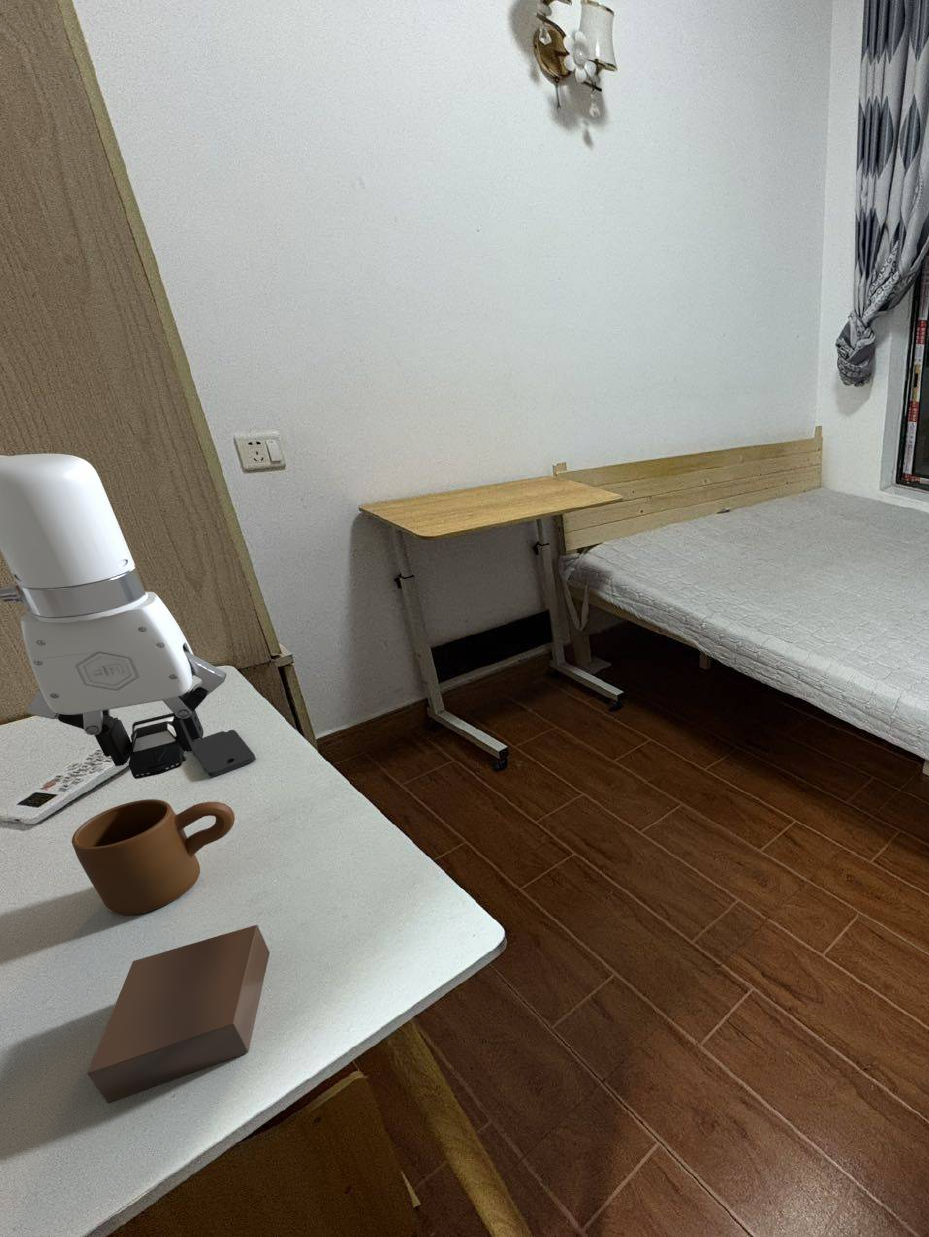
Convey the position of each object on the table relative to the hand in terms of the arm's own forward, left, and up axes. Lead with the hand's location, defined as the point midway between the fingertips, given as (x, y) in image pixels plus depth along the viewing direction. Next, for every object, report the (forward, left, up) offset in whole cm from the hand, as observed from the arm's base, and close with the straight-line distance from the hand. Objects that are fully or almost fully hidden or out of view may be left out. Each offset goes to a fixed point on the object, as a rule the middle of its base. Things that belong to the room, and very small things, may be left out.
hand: (159, 749), depth 70 cm
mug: (-2, -3, -15) cm, 16 cm away
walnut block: (+3, -23, -15) cm, 28 cm away
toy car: (0, 0, -1) cm, 1 cm away
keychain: (-3, +22, -15) cm, 27 cm away
